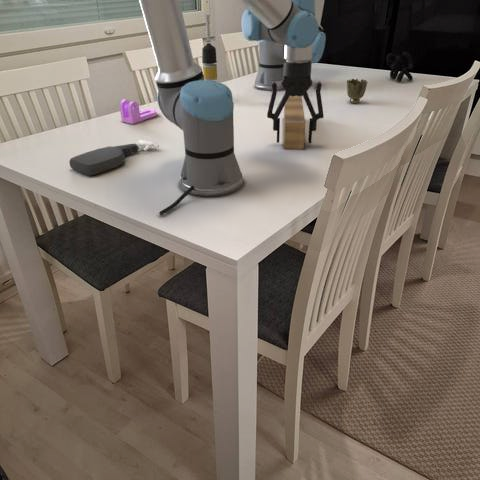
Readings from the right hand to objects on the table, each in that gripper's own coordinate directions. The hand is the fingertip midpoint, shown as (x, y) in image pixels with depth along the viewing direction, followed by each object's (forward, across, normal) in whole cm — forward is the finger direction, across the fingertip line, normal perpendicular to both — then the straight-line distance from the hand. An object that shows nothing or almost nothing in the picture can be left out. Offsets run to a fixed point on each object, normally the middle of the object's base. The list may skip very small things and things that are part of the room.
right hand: (286, 19), depth 153 cm
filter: (+29, +29, -9) cm, 42 cm away
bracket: (+29, +50, +17) cm, 61 cm away
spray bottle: (+29, +46, +56) cm, 78 cm away
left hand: (+28, -3, +42) cm, 51 cm away
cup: (+29, -27, -4) cm, 40 cm away
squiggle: (+29, -52, -43) cm, 74 cm away
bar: (+29, -3, +31) cm, 43 cm away
